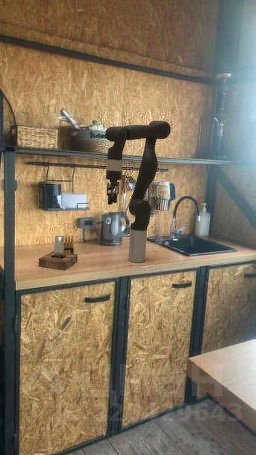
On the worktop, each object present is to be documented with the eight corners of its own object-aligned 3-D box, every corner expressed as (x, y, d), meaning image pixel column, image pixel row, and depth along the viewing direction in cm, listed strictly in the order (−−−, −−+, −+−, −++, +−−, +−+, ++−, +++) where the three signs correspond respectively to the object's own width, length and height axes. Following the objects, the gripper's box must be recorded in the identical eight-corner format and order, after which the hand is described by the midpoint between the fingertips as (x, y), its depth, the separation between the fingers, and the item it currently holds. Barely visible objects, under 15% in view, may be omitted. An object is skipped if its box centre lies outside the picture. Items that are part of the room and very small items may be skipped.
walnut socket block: (52, 258, 194) (52, 251, 193) (77, 261, 191) (77, 254, 191) (38, 266, 179) (38, 258, 178) (65, 270, 176) (65, 262, 175)
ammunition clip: (72, 256, 202) (73, 234, 200) (73, 256, 201) (74, 235, 198) (53, 257, 198) (54, 235, 195) (54, 258, 196) (54, 235, 194)
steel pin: (56, 262, 188) (57, 235, 185) (64, 263, 187) (65, 236, 184) (52, 264, 183) (53, 237, 181) (61, 265, 182) (62, 238, 180)
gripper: (118, 170, 168) (116, 206, 170) (125, 170, 181) (123, 203, 184) (102, 169, 169) (100, 204, 172) (110, 169, 183) (108, 201, 186)
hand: (112, 203), depth 178 cm, fingers open, 8 cm apart
